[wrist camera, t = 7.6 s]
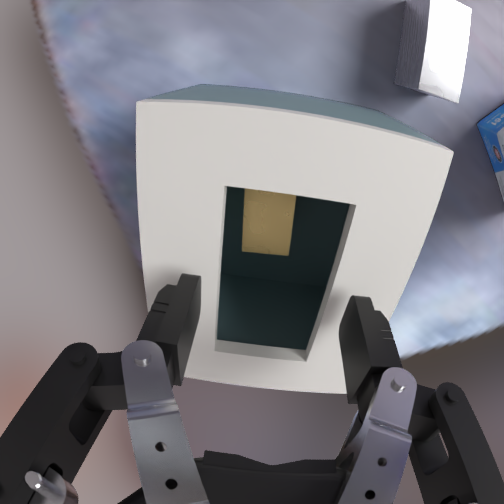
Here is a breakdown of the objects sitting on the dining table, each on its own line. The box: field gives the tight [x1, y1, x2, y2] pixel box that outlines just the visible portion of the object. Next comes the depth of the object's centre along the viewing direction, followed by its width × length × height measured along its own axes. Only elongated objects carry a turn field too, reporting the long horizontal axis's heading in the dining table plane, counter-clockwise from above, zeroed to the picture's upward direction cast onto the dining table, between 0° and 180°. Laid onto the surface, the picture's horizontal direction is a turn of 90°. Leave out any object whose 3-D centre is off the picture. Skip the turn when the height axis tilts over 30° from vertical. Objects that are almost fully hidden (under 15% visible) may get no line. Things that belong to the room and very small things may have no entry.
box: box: [136, 84, 454, 394], centre depth 17 cm, size 14×11×10 cm
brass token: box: [242, 188, 296, 256], centre depth 18 cm, size 3×6×4 cm, turn 177°
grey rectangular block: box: [394, 0, 471, 103], centre depth 13 cm, size 3×6×4 cm, turn 174°
